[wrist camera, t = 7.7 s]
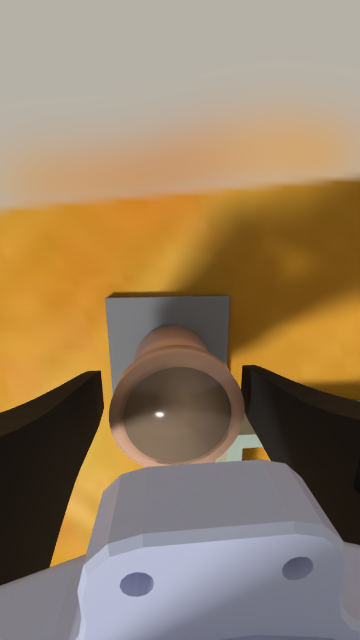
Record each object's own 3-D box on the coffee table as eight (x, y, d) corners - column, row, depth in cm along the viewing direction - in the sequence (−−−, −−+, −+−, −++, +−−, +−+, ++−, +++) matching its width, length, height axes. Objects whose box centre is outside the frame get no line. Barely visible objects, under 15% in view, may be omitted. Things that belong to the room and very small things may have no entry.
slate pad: (227, 295, 15) (229, 296, 15) (223, 401, 17) (225, 405, 17) (107, 297, 15) (105, 298, 14) (115, 406, 17) (114, 410, 16)
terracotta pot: (228, 338, 15) (268, 383, 10) (192, 408, 16) (209, 487, 11) (149, 305, 15) (140, 331, 9) (116, 381, 16) (88, 451, 10)
